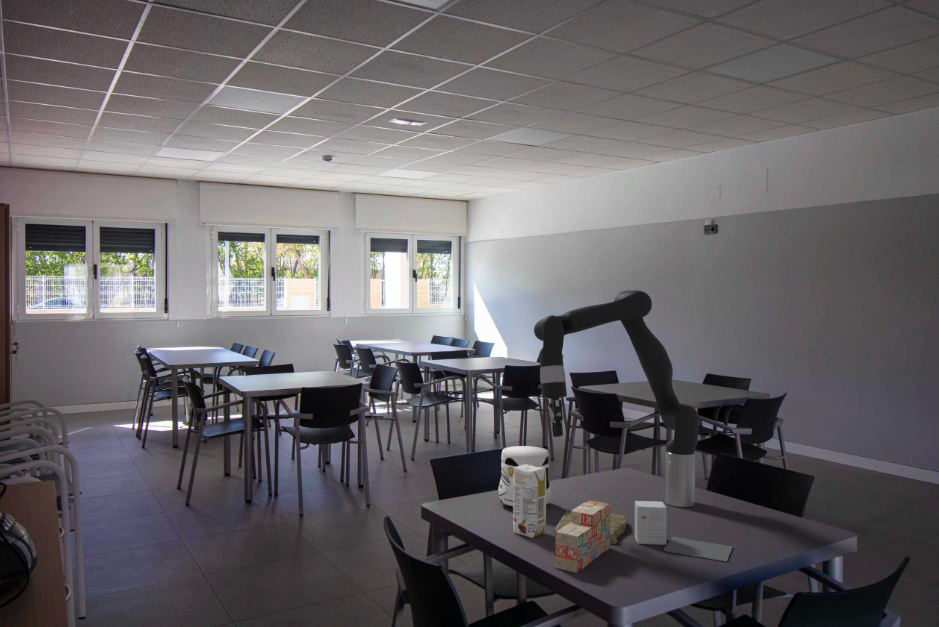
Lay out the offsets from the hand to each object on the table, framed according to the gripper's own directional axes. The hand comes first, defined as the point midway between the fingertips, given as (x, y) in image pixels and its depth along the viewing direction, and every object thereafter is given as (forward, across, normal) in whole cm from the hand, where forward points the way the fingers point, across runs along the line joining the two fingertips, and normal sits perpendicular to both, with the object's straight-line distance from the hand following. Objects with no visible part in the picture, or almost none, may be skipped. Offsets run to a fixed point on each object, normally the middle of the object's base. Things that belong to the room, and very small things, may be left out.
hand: (557, 436), depth 199 cm
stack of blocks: (+32, -18, -2) cm, 37 cm away
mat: (+32, -10, -34) cm, 48 cm away
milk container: (+21, +26, +10) cm, 35 cm away
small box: (+31, -5, -23) cm, 38 cm away
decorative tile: (+28, +4, -8) cm, 29 cm away
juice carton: (+27, -1, +11) cm, 29 cm away
